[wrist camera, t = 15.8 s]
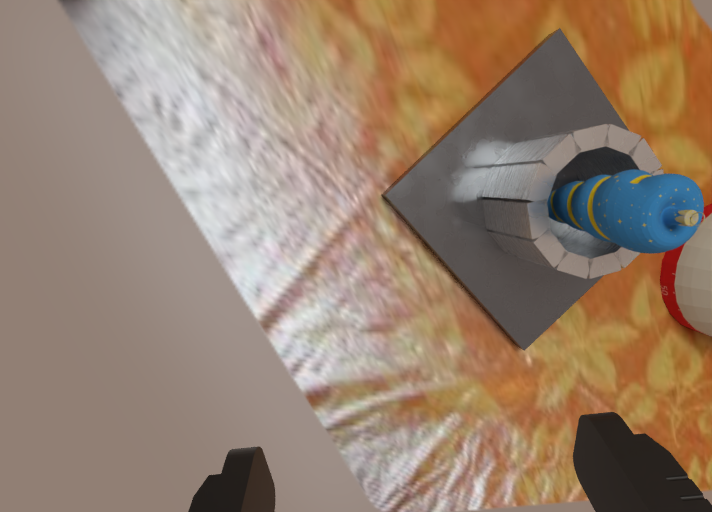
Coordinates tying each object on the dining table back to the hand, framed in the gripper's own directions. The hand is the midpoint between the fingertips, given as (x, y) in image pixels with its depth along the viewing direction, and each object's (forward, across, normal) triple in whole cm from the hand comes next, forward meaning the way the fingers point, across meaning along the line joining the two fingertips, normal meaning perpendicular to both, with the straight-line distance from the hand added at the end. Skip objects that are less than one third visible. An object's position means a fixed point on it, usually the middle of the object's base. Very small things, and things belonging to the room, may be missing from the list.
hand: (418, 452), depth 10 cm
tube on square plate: (+29, -14, +5) cm, 33 cm away
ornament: (+28, -15, +5) cm, 32 cm away
